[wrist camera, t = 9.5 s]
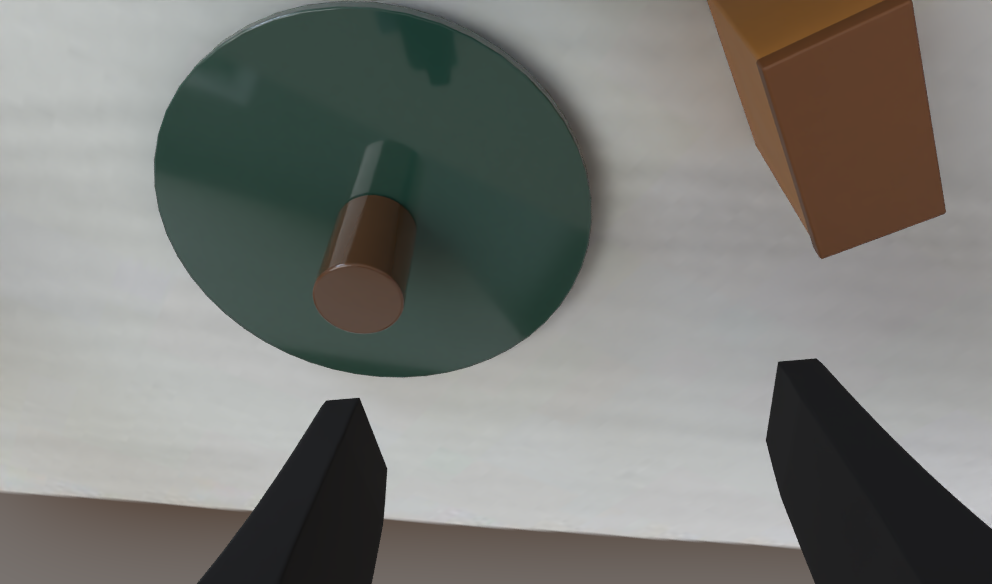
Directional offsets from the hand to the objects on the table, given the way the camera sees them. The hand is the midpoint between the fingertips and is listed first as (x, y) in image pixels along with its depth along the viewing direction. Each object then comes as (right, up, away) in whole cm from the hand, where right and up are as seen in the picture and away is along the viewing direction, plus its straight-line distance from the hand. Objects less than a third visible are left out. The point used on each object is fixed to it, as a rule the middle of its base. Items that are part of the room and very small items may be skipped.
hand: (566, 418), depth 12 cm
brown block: (+6, +9, +6) cm, 12 cm away
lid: (-5, +4, +9) cm, 11 cm away
